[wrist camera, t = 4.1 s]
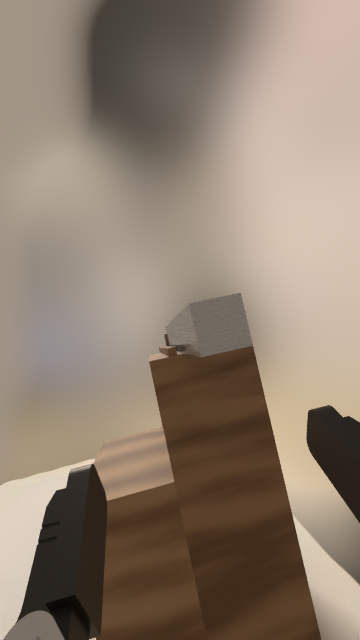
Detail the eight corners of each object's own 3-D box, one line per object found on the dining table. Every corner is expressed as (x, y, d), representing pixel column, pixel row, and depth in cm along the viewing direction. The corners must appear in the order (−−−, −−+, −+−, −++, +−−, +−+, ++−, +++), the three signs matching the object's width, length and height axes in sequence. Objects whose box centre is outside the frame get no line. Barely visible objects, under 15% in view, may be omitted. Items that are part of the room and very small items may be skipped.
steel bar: (252, 345, 19) (240, 293, 19) (200, 357, 18) (188, 303, 19) (193, 345, 43) (188, 322, 43) (170, 350, 42) (165, 327, 42)
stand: (332, 687, 26) (245, 313, 28) (121, 773, 24) (43, 356, 26) (257, 549, 44) (207, 325, 46) (132, 589, 42) (85, 351, 44)
